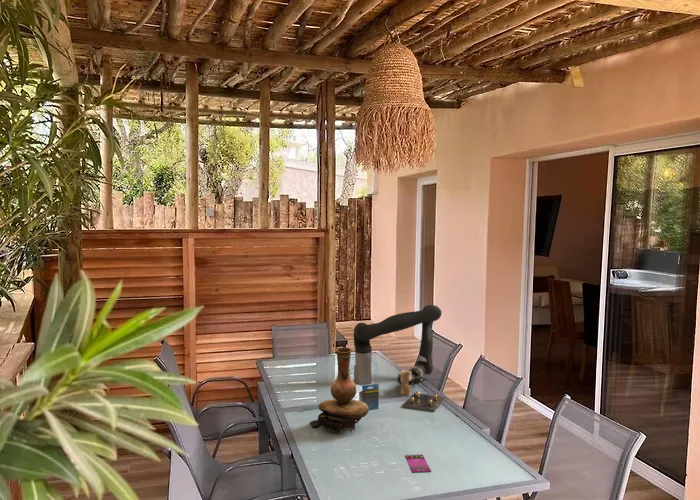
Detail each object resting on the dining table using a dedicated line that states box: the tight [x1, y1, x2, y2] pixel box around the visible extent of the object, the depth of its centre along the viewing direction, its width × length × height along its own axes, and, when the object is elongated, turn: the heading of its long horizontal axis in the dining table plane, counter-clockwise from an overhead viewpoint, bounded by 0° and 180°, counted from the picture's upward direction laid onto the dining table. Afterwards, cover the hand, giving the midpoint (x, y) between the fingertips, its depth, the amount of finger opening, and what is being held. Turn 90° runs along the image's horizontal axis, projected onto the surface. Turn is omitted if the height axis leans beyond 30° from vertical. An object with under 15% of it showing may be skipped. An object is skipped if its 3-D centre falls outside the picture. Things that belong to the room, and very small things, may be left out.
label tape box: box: [358, 383, 380, 411], centre depth 264 cm, size 9×4×12 cm, turn 112°
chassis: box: [401, 391, 446, 413], centre depth 271 cm, size 16×20×4 cm
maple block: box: [400, 369, 413, 396], centre depth 287 cm, size 4×4×12 cm
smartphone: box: [404, 454, 432, 474], centre depth 203 cm, size 7×15×1 cm, turn 5°
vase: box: [309, 347, 370, 434], centre depth 240 cm, size 24×22×35 cm
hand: (404, 382), depth 284 cm, fingers closed on maple block, 4 cm apart
